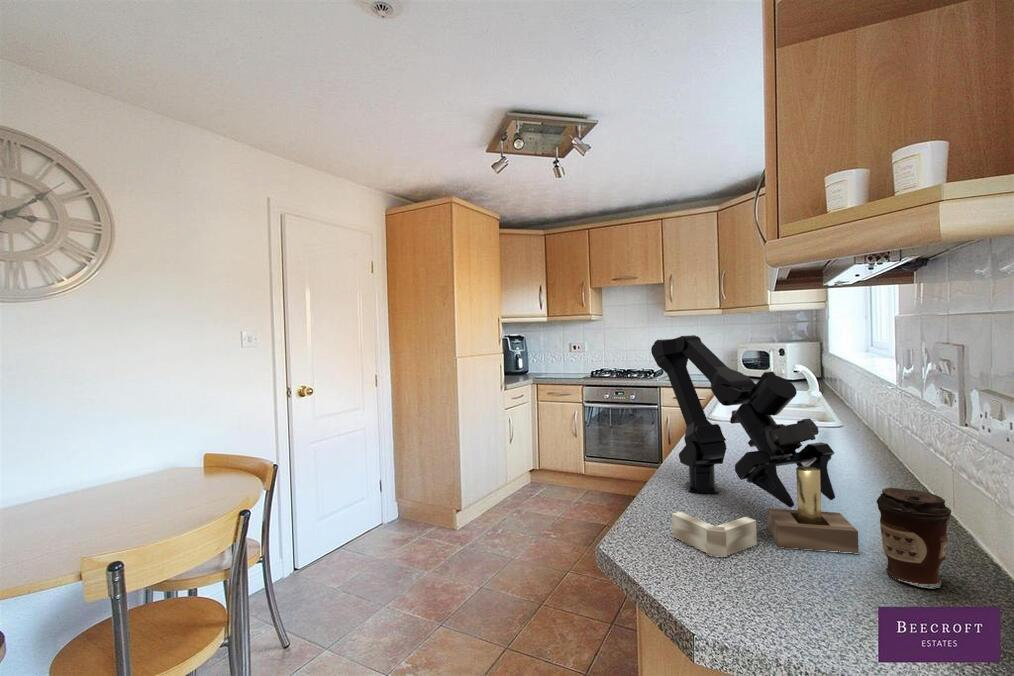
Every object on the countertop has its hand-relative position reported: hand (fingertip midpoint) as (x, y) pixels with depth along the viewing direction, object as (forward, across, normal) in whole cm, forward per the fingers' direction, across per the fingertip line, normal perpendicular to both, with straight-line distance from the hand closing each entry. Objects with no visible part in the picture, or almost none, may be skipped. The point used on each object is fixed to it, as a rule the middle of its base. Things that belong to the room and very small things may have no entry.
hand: (812, 502), depth 84 cm
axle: (+4, 0, +6) cm, 7 cm away
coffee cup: (+15, +3, -5) cm, 16 cm away
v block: (+2, -17, +8) cm, 19 cm away
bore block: (+4, 0, +6) cm, 7 cm away
